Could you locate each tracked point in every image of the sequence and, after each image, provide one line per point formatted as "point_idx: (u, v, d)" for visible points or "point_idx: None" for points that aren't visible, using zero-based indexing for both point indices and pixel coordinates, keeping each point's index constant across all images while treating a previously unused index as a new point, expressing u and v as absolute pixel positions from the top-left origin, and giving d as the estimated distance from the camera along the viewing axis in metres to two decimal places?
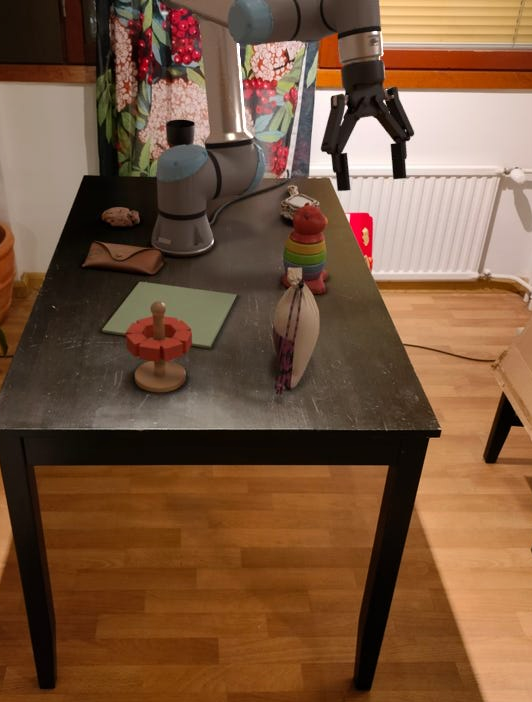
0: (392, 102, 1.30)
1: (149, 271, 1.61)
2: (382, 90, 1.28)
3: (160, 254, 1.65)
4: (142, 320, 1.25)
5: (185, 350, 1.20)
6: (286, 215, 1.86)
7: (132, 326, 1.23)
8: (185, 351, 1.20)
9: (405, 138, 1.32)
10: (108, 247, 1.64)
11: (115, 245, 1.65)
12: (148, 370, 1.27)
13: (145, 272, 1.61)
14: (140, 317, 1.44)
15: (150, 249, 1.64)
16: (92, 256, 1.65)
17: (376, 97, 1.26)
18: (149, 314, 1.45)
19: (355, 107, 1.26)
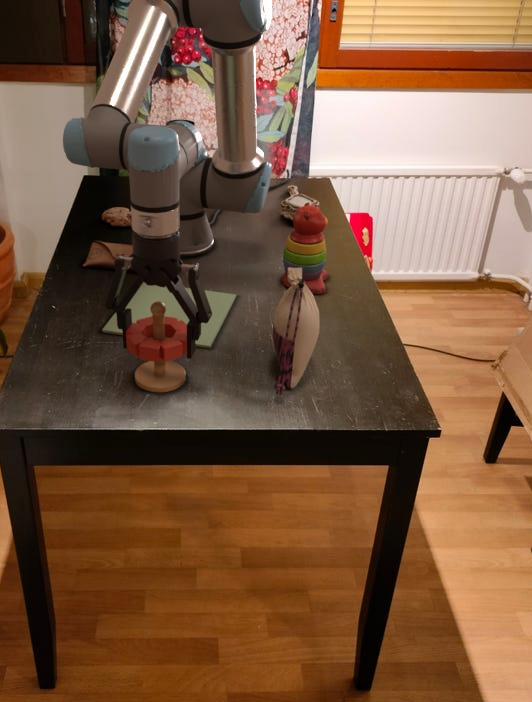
0: None
1: None
2: (174, 266, 1.13)
3: None
4: (142, 320, 1.25)
5: (185, 350, 1.20)
6: (286, 215, 1.86)
7: (132, 326, 1.23)
8: (185, 351, 1.20)
9: (193, 323, 1.17)
10: (109, 246, 1.65)
11: (115, 244, 1.66)
12: (148, 370, 1.27)
13: None
14: (140, 317, 1.44)
15: None
16: (92, 256, 1.65)
17: (158, 272, 1.13)
18: (149, 314, 1.45)
19: None
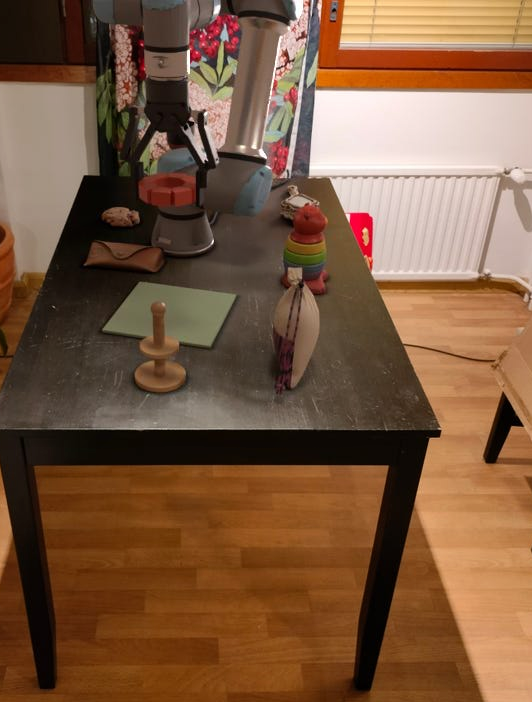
0: None
1: (151, 269, 1.62)
2: (184, 111, 1.22)
3: (161, 252, 1.66)
4: (153, 175, 1.33)
5: (194, 198, 1.29)
6: (286, 215, 1.86)
7: (145, 179, 1.32)
8: (194, 199, 1.29)
9: (201, 169, 1.26)
10: (109, 246, 1.65)
11: (116, 244, 1.66)
12: (148, 370, 1.27)
13: (147, 270, 1.62)
14: (140, 317, 1.44)
15: (151, 247, 1.65)
16: (93, 255, 1.65)
17: (169, 117, 1.22)
18: (149, 314, 1.45)
19: None
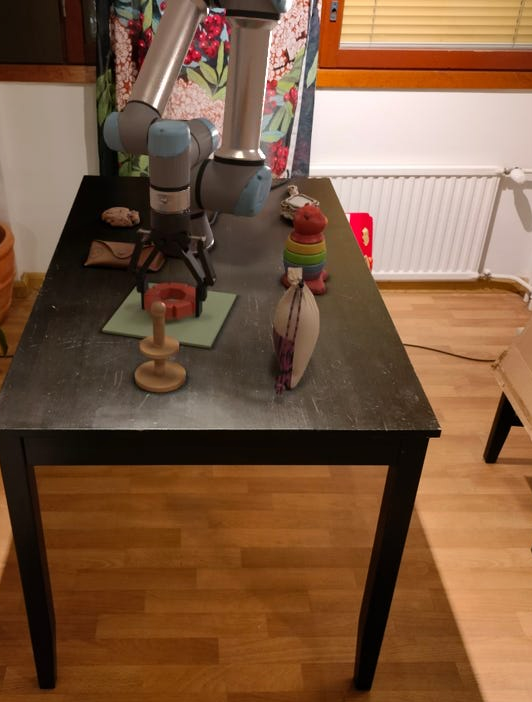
0: None
1: (152, 268, 1.62)
2: (185, 237, 1.35)
3: None
4: (157, 286, 1.47)
5: (194, 310, 1.43)
6: (286, 215, 1.86)
7: (149, 290, 1.45)
8: (194, 311, 1.43)
9: (200, 286, 1.40)
10: (110, 245, 1.65)
11: (116, 243, 1.66)
12: (148, 370, 1.27)
13: (148, 269, 1.62)
14: (140, 317, 1.44)
15: (152, 246, 1.66)
16: (94, 255, 1.65)
17: (172, 243, 1.36)
18: (149, 314, 1.45)
19: (153, 244, 1.38)
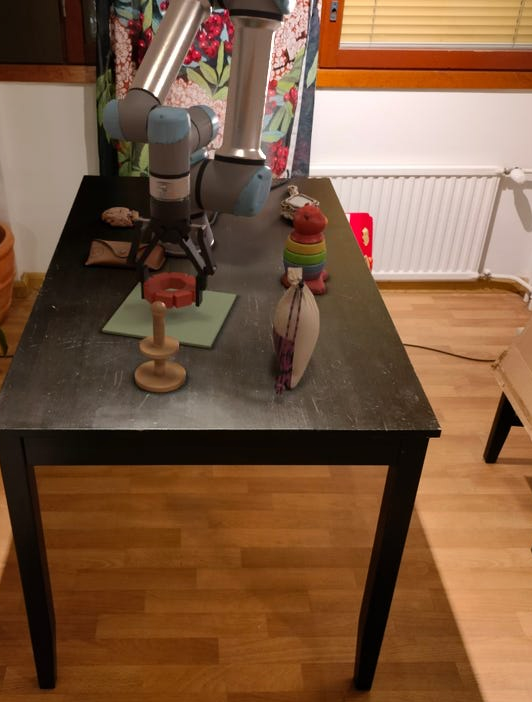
0: None
1: (154, 266, 1.63)
2: (185, 226, 1.34)
3: (162, 249, 1.67)
4: (157, 275, 1.46)
5: (194, 299, 1.41)
6: (286, 215, 1.86)
7: (149, 280, 1.44)
8: (194, 300, 1.42)
9: (201, 275, 1.38)
10: (110, 245, 1.66)
11: (117, 242, 1.67)
12: (148, 370, 1.27)
13: (150, 268, 1.63)
14: (140, 317, 1.44)
15: None
16: (94, 254, 1.66)
17: (172, 231, 1.35)
18: (149, 314, 1.45)
19: (153, 232, 1.37)
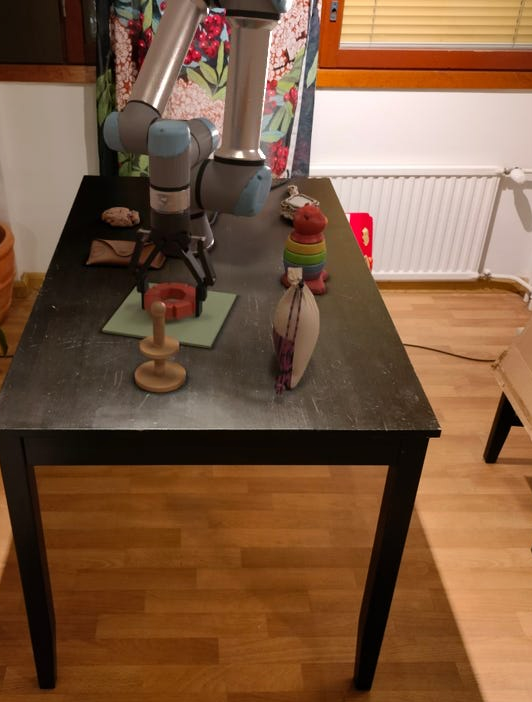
0: None
1: (155, 265, 1.64)
2: (185, 237, 1.35)
3: None
4: (157, 286, 1.47)
5: (194, 310, 1.43)
6: (286, 215, 1.86)
7: (149, 291, 1.45)
8: (194, 311, 1.43)
9: (200, 286, 1.40)
10: (111, 244, 1.66)
11: (117, 242, 1.67)
12: (148, 370, 1.27)
13: (151, 267, 1.64)
14: (140, 317, 1.44)
15: (153, 244, 1.67)
16: (95, 254, 1.66)
17: (172, 242, 1.36)
18: (149, 314, 1.45)
19: None
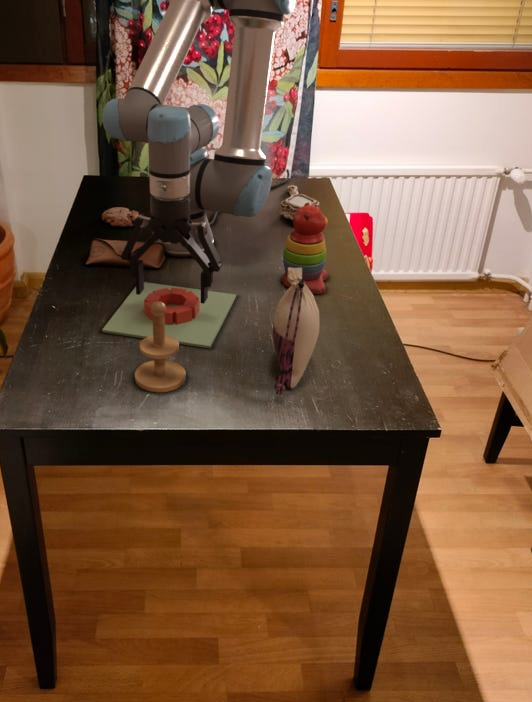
0: None
1: (155, 265, 1.64)
2: (185, 225, 1.34)
3: (162, 248, 1.68)
4: (157, 291, 1.48)
5: (194, 315, 1.43)
6: (286, 215, 1.86)
7: (149, 296, 1.46)
8: (194, 316, 1.44)
9: (206, 271, 1.38)
10: (111, 244, 1.66)
11: (117, 241, 1.67)
12: (148, 370, 1.27)
13: (150, 266, 1.64)
14: (140, 317, 1.44)
15: None
16: (95, 254, 1.66)
17: (172, 230, 1.34)
18: None
19: (153, 231, 1.37)
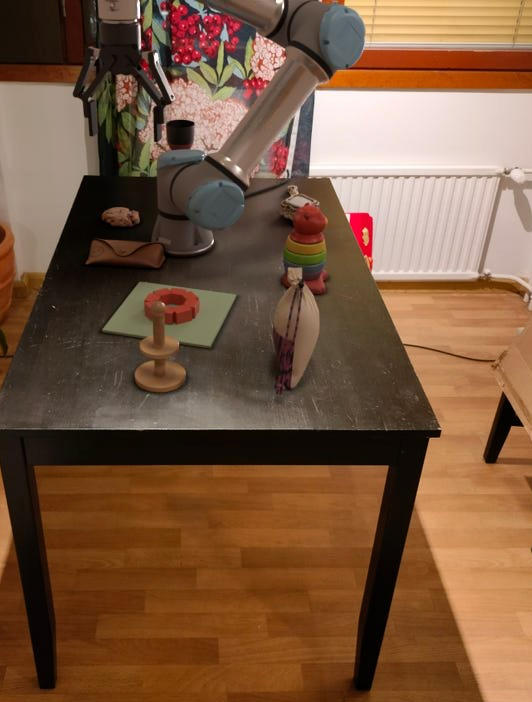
0: None
1: (154, 265, 1.64)
2: (135, 53, 1.32)
3: (162, 248, 1.68)
4: (157, 291, 1.48)
5: (194, 315, 1.43)
6: (286, 215, 1.86)
7: (149, 296, 1.46)
8: (194, 316, 1.44)
9: (158, 105, 1.35)
10: (110, 244, 1.66)
11: (117, 241, 1.67)
12: (148, 370, 1.27)
13: (150, 266, 1.64)
14: (140, 317, 1.44)
15: (152, 243, 1.67)
16: (95, 254, 1.66)
17: (122, 59, 1.32)
18: None
19: (104, 63, 1.34)
